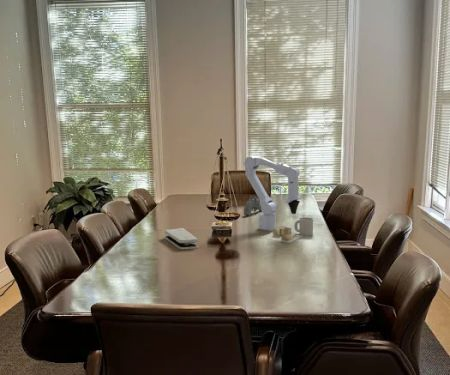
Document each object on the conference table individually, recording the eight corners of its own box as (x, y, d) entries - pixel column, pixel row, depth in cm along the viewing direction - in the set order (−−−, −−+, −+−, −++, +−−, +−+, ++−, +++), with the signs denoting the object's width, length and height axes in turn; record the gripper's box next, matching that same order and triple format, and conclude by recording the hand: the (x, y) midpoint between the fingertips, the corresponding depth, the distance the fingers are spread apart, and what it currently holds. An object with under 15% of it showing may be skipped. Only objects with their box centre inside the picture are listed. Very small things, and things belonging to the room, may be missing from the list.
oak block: (281, 240, 222) (281, 228, 221) (284, 238, 225) (284, 227, 225) (288, 240, 220) (288, 229, 219) (291, 239, 224) (291, 227, 223)
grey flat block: (199, 248, 211) (198, 239, 210) (177, 251, 207) (177, 241, 206) (183, 236, 235) (183, 227, 234) (164, 239, 231) (164, 229, 230)
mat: (259, 238, 228) (259, 237, 228) (274, 232, 241) (274, 231, 241) (289, 243, 217) (289, 242, 217) (303, 236, 230) (303, 235, 230)
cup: (312, 236, 230) (312, 220, 229) (293, 235, 232) (294, 219, 231) (312, 233, 237) (313, 217, 236) (294, 232, 239) (294, 216, 238)
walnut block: (272, 228, 231) (279, 225, 236) (272, 235, 231) (279, 232, 237) (279, 229, 228) (286, 226, 234) (279, 236, 229) (286, 233, 235)
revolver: (262, 223, 298) (266, 202, 302) (248, 214, 280) (253, 192, 284) (255, 222, 301) (260, 202, 304) (241, 213, 283) (246, 192, 287)
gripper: (293, 191, 229) (293, 216, 231) (305, 188, 240) (306, 212, 242) (281, 191, 233) (282, 215, 235) (294, 187, 245) (295, 211, 246)
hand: (293, 213), depth 239 cm, fingers closed
